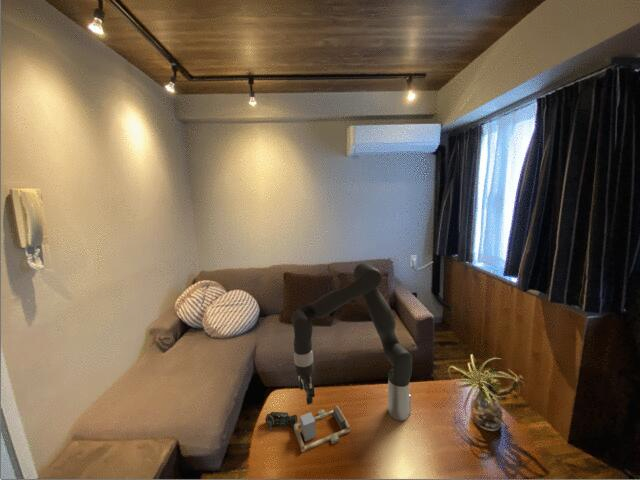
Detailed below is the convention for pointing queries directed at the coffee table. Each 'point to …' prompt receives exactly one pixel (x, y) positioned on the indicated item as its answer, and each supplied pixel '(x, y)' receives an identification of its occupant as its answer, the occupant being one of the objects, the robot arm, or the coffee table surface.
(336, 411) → the beam frame
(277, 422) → the stun grenade
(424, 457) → the coffee table surface
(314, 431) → the grey rectangular block
